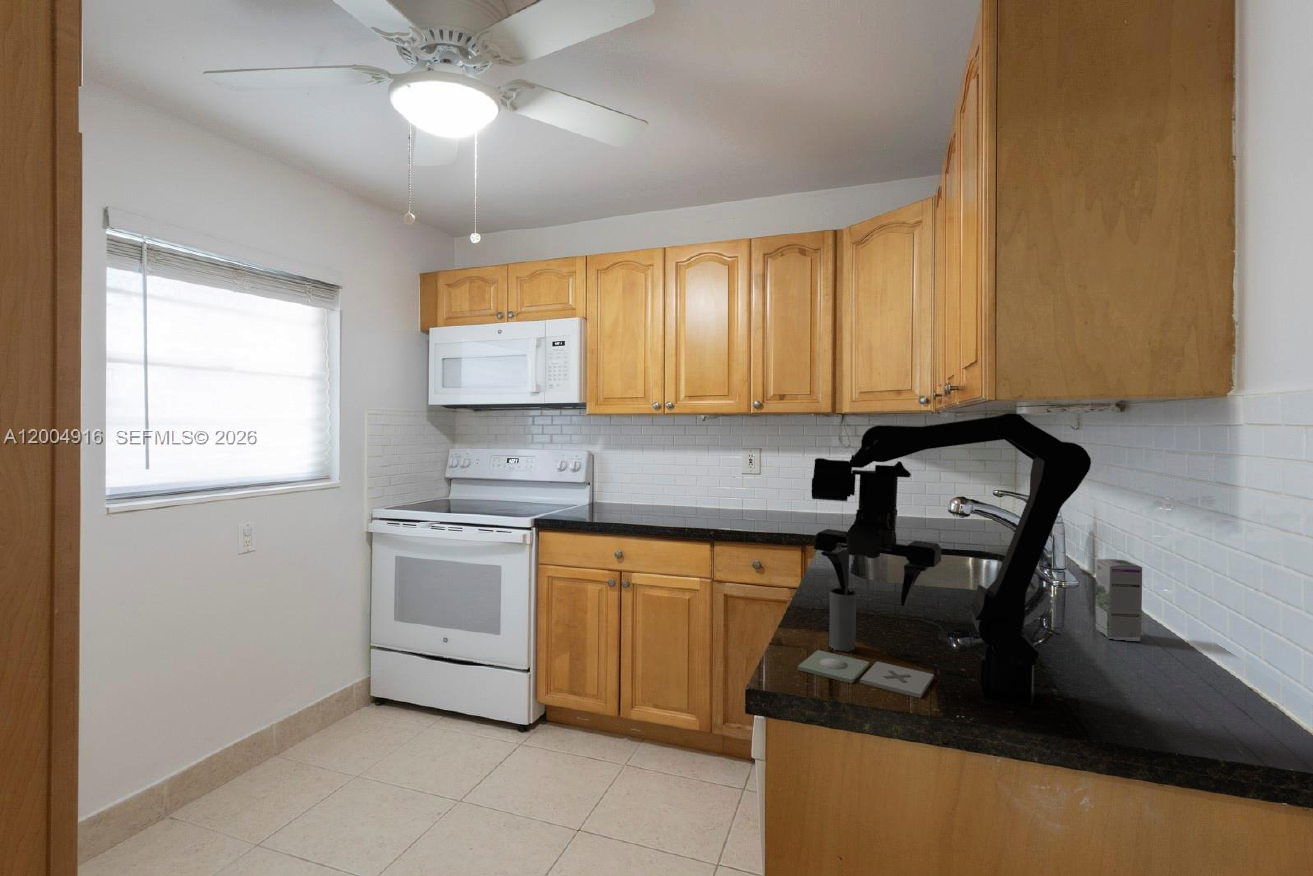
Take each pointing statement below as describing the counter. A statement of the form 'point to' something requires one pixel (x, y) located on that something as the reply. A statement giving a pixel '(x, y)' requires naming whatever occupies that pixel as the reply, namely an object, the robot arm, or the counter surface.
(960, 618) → the counter surface
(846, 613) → the grey cylinder
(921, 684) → the pad
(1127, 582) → the syrup box
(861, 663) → the pad
